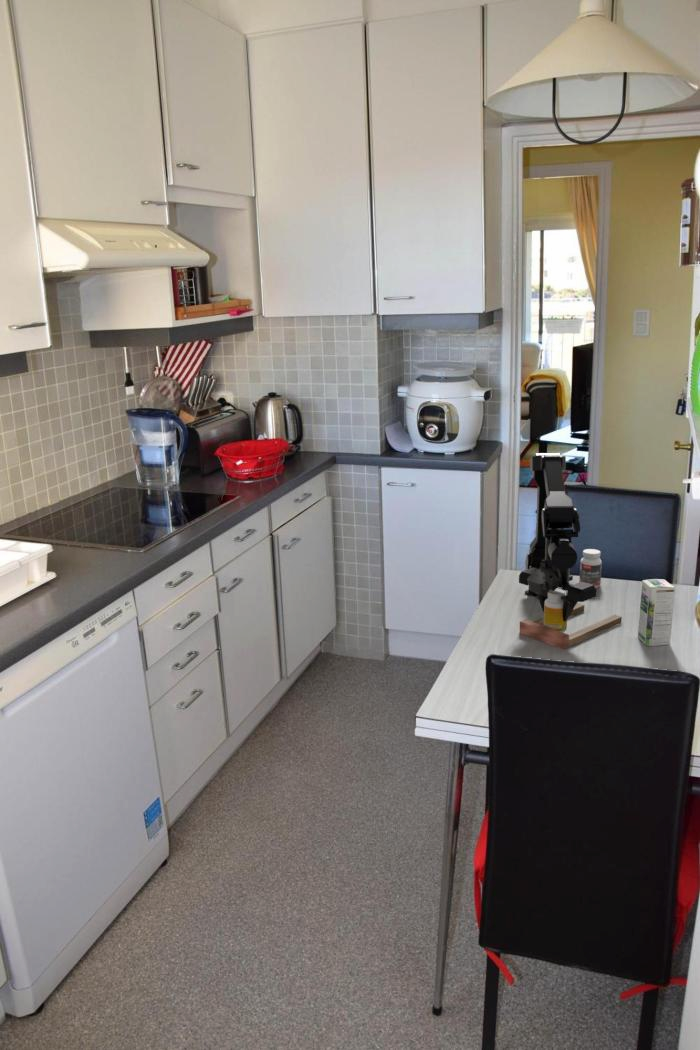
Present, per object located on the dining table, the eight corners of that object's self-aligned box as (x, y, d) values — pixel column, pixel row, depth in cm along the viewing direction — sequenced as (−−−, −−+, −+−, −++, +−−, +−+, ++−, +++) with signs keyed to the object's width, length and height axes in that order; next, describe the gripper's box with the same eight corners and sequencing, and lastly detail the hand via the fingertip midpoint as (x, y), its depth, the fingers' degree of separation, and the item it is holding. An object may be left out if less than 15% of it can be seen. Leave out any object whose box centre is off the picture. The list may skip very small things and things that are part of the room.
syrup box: (636, 637, 201) (640, 579, 197) (660, 635, 201) (665, 578, 197) (646, 646, 195) (650, 587, 191) (671, 645, 196) (676, 586, 192)
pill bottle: (580, 588, 234) (582, 554, 231) (578, 581, 239) (579, 548, 236) (601, 588, 233) (603, 554, 230) (598, 581, 238) (600, 548, 235)
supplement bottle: (567, 634, 200) (568, 595, 198) (543, 633, 201) (544, 595, 199) (566, 625, 205) (567, 588, 203) (543, 624, 206) (544, 587, 204)
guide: (519, 632, 205) (519, 621, 205) (577, 608, 219) (578, 597, 218) (563, 649, 196) (563, 637, 195) (621, 622, 209) (621, 611, 209)
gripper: (504, 554, 200) (503, 615, 205) (569, 573, 186) (566, 638, 191) (534, 544, 207) (532, 604, 211) (599, 561, 193) (596, 625, 197)
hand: (555, 617), depth 202 cm, fingers closed on supplement bottle, 5 cm apart
